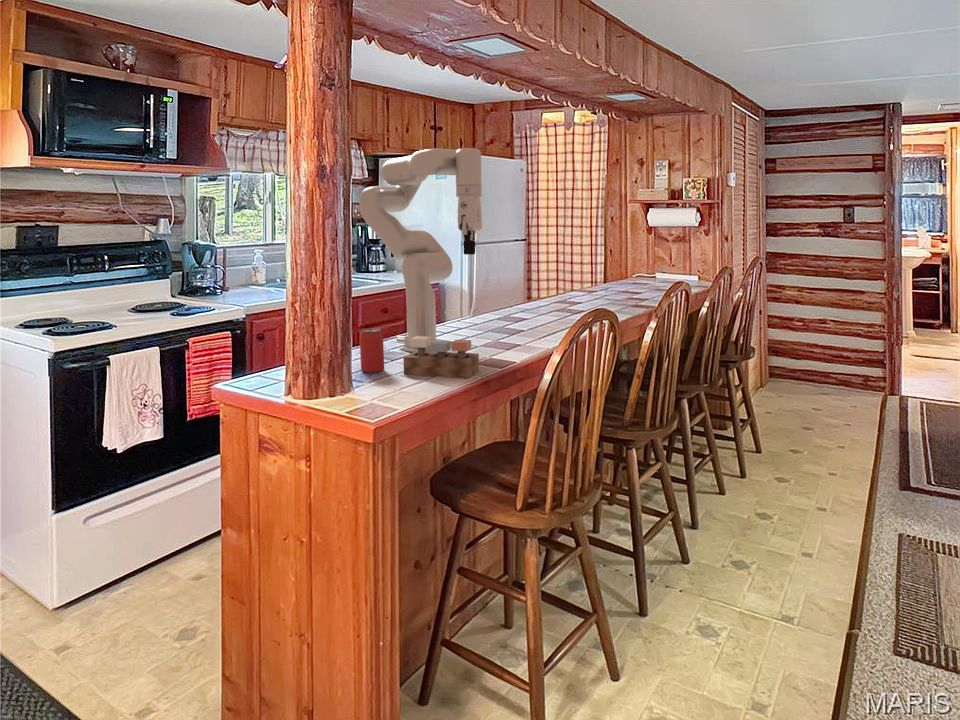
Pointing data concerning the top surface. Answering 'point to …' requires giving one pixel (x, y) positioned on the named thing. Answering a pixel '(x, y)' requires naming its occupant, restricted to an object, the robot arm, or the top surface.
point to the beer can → (371, 350)
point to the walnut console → (441, 364)
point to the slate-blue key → (440, 347)
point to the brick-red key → (461, 347)
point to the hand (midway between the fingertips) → (469, 254)
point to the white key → (421, 343)
